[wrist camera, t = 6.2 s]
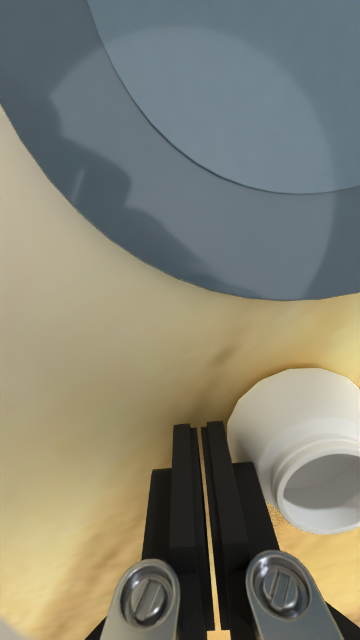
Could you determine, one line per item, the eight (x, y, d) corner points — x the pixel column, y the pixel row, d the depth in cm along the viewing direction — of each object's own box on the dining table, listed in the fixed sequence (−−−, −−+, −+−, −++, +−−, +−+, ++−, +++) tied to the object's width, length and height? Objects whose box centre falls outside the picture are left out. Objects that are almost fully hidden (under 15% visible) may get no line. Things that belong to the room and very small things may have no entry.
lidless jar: (323, 493, 12) (391, 388, 10) (366, 577, 9) (468, 449, 8) (205, 457, 11) (259, 343, 10) (212, 534, 9) (289, 389, 7)
